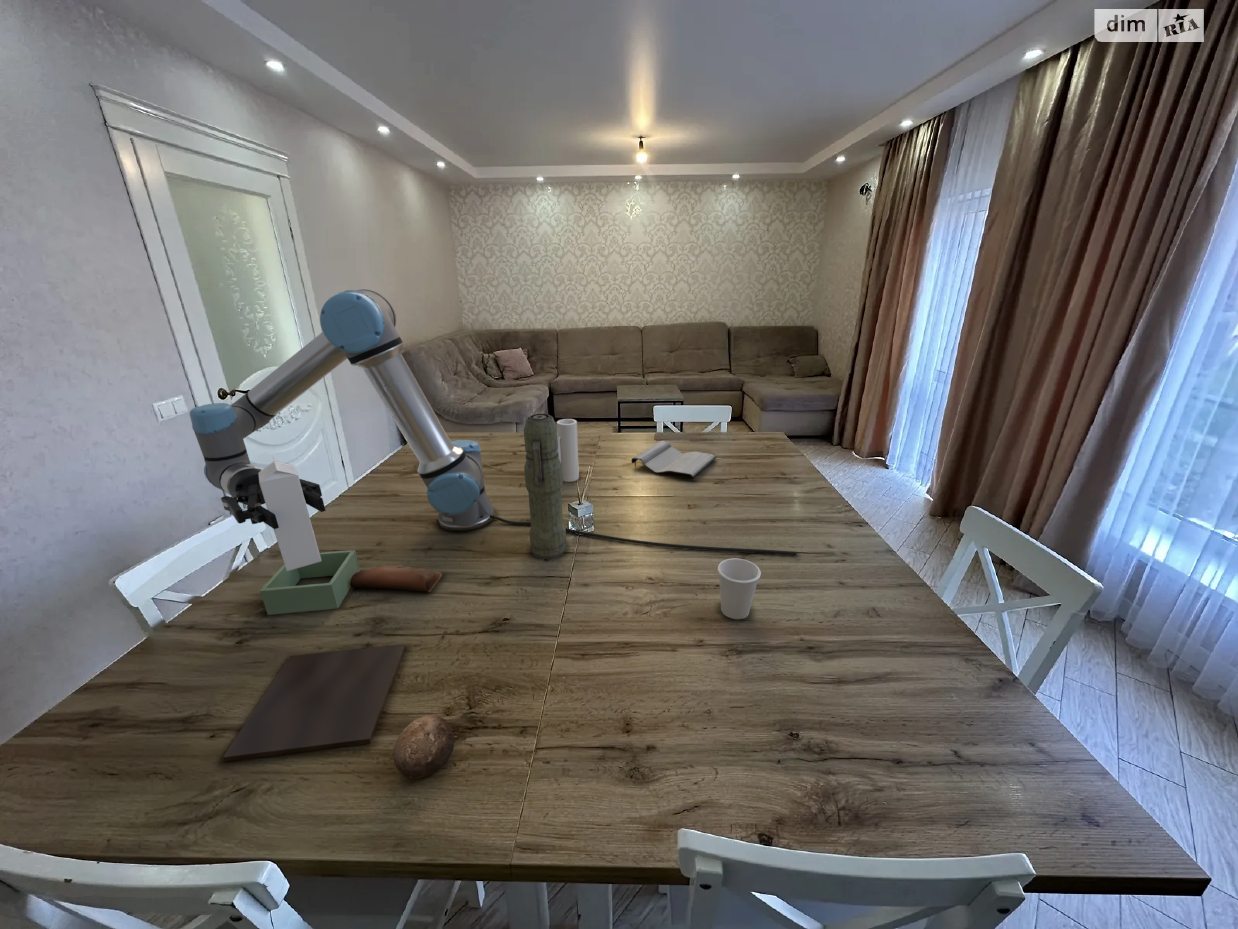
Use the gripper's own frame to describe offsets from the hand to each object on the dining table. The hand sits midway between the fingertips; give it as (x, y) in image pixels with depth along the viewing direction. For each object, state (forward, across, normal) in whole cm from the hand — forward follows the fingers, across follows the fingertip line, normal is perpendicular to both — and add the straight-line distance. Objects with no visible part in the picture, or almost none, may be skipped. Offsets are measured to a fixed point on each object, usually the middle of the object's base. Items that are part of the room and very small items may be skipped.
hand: (299, 513), depth 90 cm
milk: (-5, 0, -12) cm, 13 cm away
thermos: (+19, -45, -24) cm, 55 cm away
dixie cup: (+67, -50, -24) cm, 87 cm away
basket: (-11, -3, -24) cm, 26 cm away
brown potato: (+44, +7, -24) cm, 51 cm away
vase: (-8, -81, -24) cm, 85 cm away
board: (+21, +10, -24) cm, 33 cm away
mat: (+17, -114, -24) cm, 118 cm away
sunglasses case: (+1, -15, -24) cm, 28 cm away
